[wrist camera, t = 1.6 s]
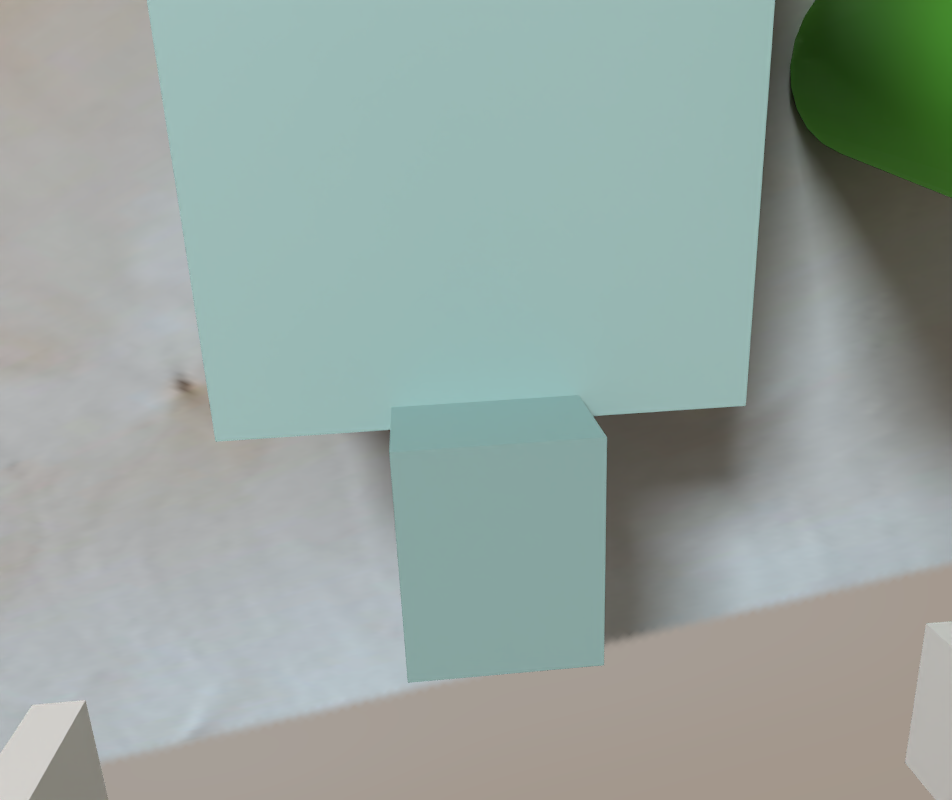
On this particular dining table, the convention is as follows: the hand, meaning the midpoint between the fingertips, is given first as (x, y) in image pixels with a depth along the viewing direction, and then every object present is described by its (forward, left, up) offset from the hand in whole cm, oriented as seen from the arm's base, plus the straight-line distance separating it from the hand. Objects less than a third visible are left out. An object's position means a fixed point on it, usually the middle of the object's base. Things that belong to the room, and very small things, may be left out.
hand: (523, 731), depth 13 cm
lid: (-9, 0, -8) cm, 12 cm away
